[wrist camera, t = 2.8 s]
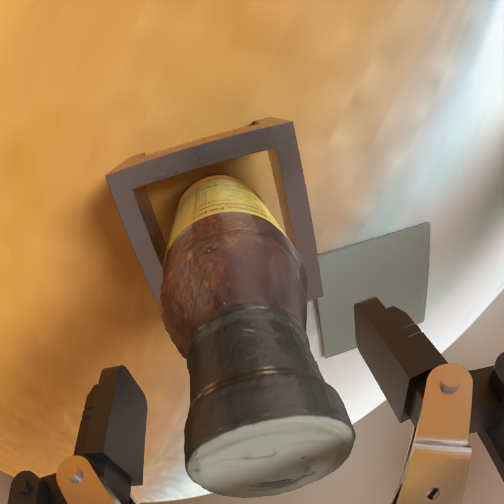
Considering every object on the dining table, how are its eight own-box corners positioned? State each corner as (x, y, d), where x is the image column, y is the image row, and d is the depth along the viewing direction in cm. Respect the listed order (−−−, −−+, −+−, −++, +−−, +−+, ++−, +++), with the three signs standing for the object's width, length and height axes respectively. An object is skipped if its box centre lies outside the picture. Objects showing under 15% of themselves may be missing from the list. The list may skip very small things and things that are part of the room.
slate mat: (427, 221, 27) (430, 223, 27) (421, 319, 33) (423, 321, 32) (309, 257, 27) (311, 259, 27) (324, 355, 32) (325, 358, 32)
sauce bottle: (237, 260, 26) (297, 517, 8) (164, 231, 24) (112, 500, 6) (277, 188, 24) (441, 409, 6) (199, 152, 22) (187, 363, 4)
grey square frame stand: (270, 117, 22) (292, 121, 16) (299, 256, 27) (323, 296, 21) (129, 157, 21) (105, 175, 16) (178, 290, 26) (173, 337, 21)
